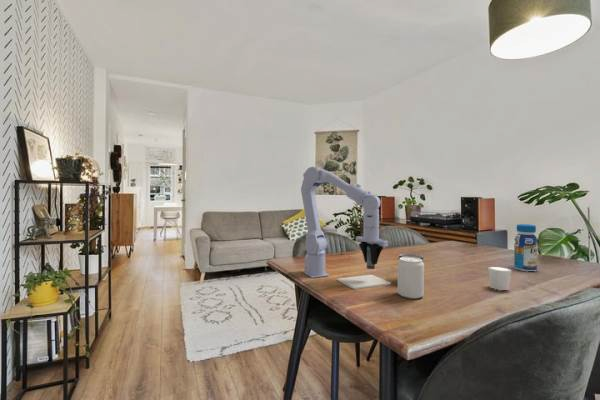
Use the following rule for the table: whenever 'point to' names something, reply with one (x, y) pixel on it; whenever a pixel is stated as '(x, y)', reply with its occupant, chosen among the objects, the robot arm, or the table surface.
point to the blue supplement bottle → (525, 248)
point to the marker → (369, 259)
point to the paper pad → (363, 281)
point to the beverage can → (411, 277)
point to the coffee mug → (411, 256)
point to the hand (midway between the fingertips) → (370, 263)
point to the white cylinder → (499, 278)
